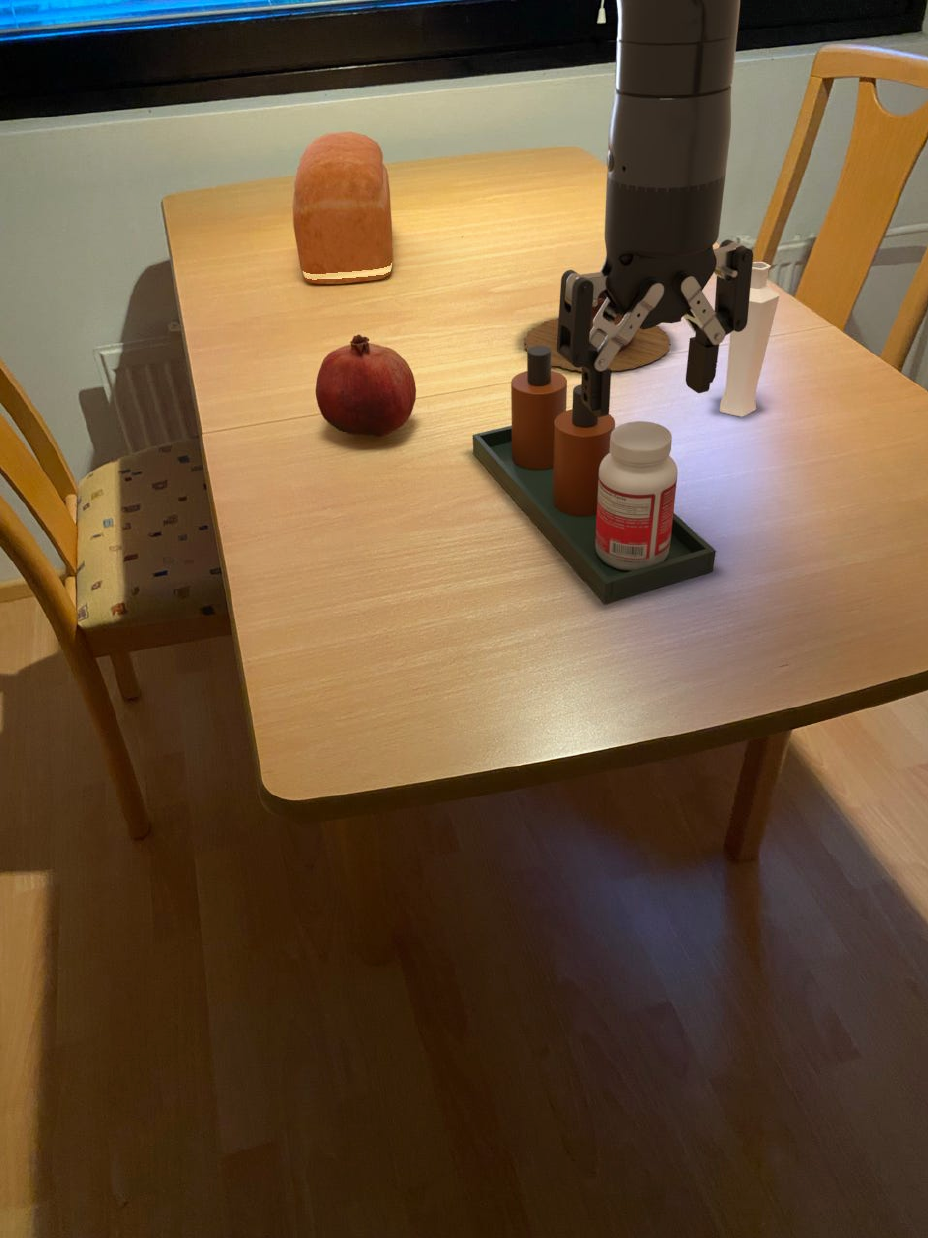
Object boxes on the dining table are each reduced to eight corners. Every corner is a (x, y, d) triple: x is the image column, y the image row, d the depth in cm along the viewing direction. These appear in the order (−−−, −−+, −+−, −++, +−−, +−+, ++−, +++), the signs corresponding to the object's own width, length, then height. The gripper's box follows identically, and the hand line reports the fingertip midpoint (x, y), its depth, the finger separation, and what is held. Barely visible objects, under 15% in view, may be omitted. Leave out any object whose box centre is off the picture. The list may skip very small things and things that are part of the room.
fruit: (304, 427, 100) (289, 337, 93) (381, 399, 104) (372, 311, 98) (357, 465, 93) (344, 371, 87) (437, 433, 97) (431, 341, 91)
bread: (299, 288, 133) (281, 169, 123) (309, 231, 153) (294, 125, 143) (395, 281, 133) (385, 162, 123) (393, 226, 153) (383, 120, 143)
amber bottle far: (550, 439, 94) (552, 334, 87) (574, 462, 90) (578, 355, 83) (503, 451, 93) (501, 345, 86) (525, 475, 89) (525, 366, 82)
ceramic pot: (627, 305, 122) (631, 250, 118) (698, 356, 109) (706, 296, 105) (500, 329, 118) (499, 273, 114) (559, 385, 105) (560, 324, 101)
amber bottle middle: (592, 481, 88) (598, 371, 81) (620, 507, 84) (629, 395, 77) (543, 494, 86) (544, 383, 79) (569, 521, 82) (573, 408, 75)
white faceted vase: (765, 403, 99) (790, 260, 90) (751, 420, 97) (775, 275, 87) (723, 394, 101) (744, 254, 92) (708, 410, 99) (728, 268, 89)
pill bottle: (646, 525, 81) (657, 410, 74) (682, 563, 77) (697, 444, 70) (582, 541, 80) (587, 425, 73) (615, 581, 75) (623, 461, 68)
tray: (563, 431, 97) (563, 412, 95) (713, 571, 77) (716, 550, 76) (472, 453, 94) (472, 434, 93) (604, 604, 74) (605, 583, 73)
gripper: (595, 197, 55) (587, 443, 65) (795, 162, 59) (758, 400, 69) (540, 170, 60) (540, 401, 71) (726, 140, 64) (701, 363, 74)
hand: (648, 400), depth 70 cm, fingers open, 8 cm apart
